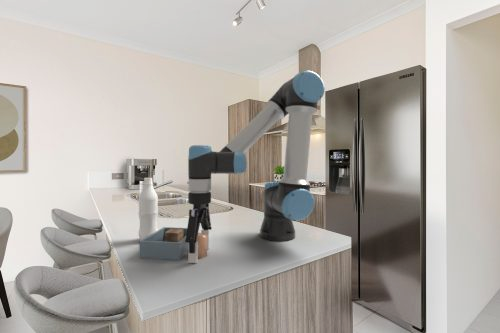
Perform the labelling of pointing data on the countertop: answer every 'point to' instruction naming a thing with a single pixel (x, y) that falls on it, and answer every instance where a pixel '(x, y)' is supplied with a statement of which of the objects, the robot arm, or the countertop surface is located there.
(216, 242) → the countertop surface
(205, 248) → the capsule
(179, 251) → the tote
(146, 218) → the water bottle
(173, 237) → the cube
